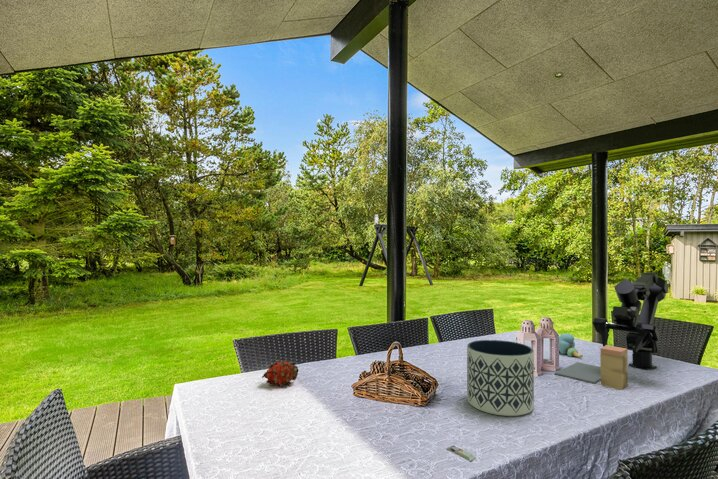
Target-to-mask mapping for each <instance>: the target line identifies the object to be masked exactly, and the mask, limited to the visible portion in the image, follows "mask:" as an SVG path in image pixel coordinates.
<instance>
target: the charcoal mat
mask: <svg viewBox="0 0 718 479" xmlns="http://www.w3.org/2000/svg"><path fill="white" fill-rule="evenodd" d="M554 375H556V376H560V377H564V378H569V379H572V380H577V381H581V382H585V383H589V384H593V385H595V384H598V382H601V366H598V365H592V364H588V363H583V362H579V361H577V362H575V363H573V364H570V365H568V366H566V367H564V368H562V369H559V370H558V371H556V372H554Z"/></svg>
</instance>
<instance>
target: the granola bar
mask: <svg viewBox="0 0 718 479" xmlns="http://www.w3.org/2000/svg"><path fill="white" fill-rule="evenodd" d="M446 450H447V451H450V452H452V453H453V454H455V455H458V456H460V457H462V458H464V459H465V460H467V461H469V462H472V461H474V460H475V459H476V458H477V456H475V455H473V454H472V453H470V452H468V451H466V450H465V449H462V448H460V447H458V446H456V445H451V446H448V447H447V448H446Z"/></svg>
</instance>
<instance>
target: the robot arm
mask: <svg viewBox="0 0 718 479" xmlns="http://www.w3.org/2000/svg"><path fill="white" fill-rule="evenodd" d="M614 291H615V293H616V296H617V298H618V301H619V303H621V305H620V306H619V305H618V306H616V305H614V306H612V313H611V316H612V317H614V318H613V321H614V322H615V323H614V322H609V321H608V319H607V318H602V317H594V318H593V320H592V322H591V323H592V324H593V325H592V326H593V327H594V329H595V332H597V333H598V334H599V335H601V343H602V347H604V346H606V345H607V343H608V340H609V336H610V334H609V333H610V330H613V331H615V330H616V331H621V332H626V337H625V338H626V346H627V348H626V349H627V350H632V356H631V357H632V358H631V359H632V361H631V363H629V362H628V366H632V367H635V368H638V369H641V370H652V369H657V366H656V365H653V354H658V353H659V346H658V343H657V342H658V341H659V340H660V333H659V330H658V326H657V325H656V324H653V323H654V320H655V316H656V311H657V308H658V304H659V303H660V302H661V301H662V300H665V298H666V296H667V294H668V293H669V284H668V283H667V281H666V280H665V279H663V278H662V277H661V276H659V275H658V274H657V273H655V272H643V273H642V272H641V274H640V276H639V277H638V278H637V279H636V280H635V281H633V282H632V281H631V279H623V281H621V282H619V283H617V284H616V285H615V286H614ZM641 301H643V302H641Z"/></svg>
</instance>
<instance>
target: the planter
mask: <svg viewBox="0 0 718 479" xmlns="http://www.w3.org/2000/svg"><path fill="white" fill-rule="evenodd" d="M534 353H535V352H534V349H533V348H532V347H531V346H529V345H526V344H523V343H519V342H515V341H509V340H501V339H500V340H498V339H481V340H474V341H471V342H469V343H467V345H466V382H467V383H466V384H467V385H466V394H467V395H466V400H467V402H468V403H469V404H470V405H471V406H472V407H473V408H475V409H477V410H479V411H481V412H483V413H487V414H489V415H495V416H501V417H518V416H519V417H520V416H523V415H526V414H529V413H531V412H532V411H533V410H534V409H535V372H534V371H535V367H534V366H535V364H534V361H535V359H534V358H535V357H534V355H535V354H534Z"/></svg>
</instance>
